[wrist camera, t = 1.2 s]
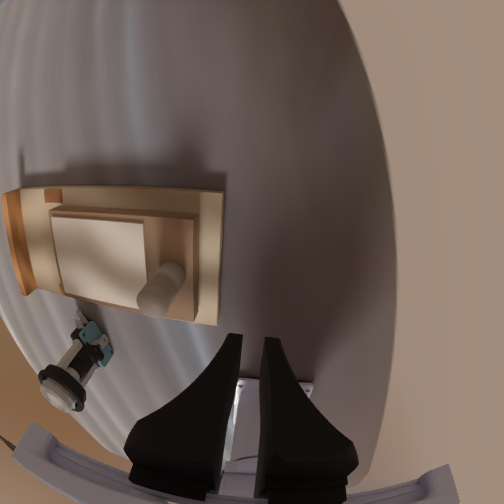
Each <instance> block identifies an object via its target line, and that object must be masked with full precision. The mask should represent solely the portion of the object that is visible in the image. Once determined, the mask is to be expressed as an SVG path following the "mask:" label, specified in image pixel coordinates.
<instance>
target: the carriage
mask: <svg viewBox="0 0 504 504" xmlns="http://www.w3.org/2000/svg"><path fill="white" fill-rule="evenodd" d="M48 213H49V221H50V229H51V235H52V242H53V248H54V253H55V258H56V263H57V268H58V273H59V277H60V281H61V286H62V290H63V293H64V295H66V296H70V297H74V298H78V299H81V300H85V301H89V302H94V303H98V304H102V305H106V306H111V307H115V308H120V309H124V310H129V311H134V312H139V313H144V314H145V315H146V316H148V317H151V318H156V319H157V318H162V317H166V318H171V319H177V320H183V321H190V322H194V321H195V319H196V316H197V313H198V239H199V214H191V213H179V212H166V211H152V210H137V209H121V208H102V207H81V206H57V207H55V208H53V209H50V210H48Z"/></svg>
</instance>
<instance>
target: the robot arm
mask: <svg viewBox="0 0 504 504" xmlns="http://www.w3.org/2000/svg"><path fill="white" fill-rule="evenodd" d="M242 339H243V335H242V334H234V333H229V334H227V337H226V339H225V341H224V343H223V344H222V346H221V348H220V349H219V351H218V352H217V354H216V355H215V357H214V358H213V359H212V361H211V362H210V364H209V365H208V366H207V367H206V368H205V370H204V371H203V372H202V373H201V374H200V375H199V376H198V378H197V379H196V380H195V381H194V382H193V383H192V384H191V385H190V386H188V387H187V388H186V389H185V390H184V391H183V392H182V393H180V394H179V395H178V396H177V397H175V398H174V399H173V400H171V401H170V402H169V403H167V404H166V405H164V406H163V407H161V408H160V409H158V410H157V411H155V412H153V413H151V414H149V415H148V416H146V417H144V418H142V419H140V420H138V421H137V422H136V424H135V425H134V427H133V428H132V430H131V432H130V433H129V435H128V438H127V440H126V443H125V446H124V448H123V449H124V451H125V453H126V455H127V456H128V458H129V459H130V460H131V462H132V463H133V466H132V469H131V472H130V473H127V472H125V471H122V470H119V469H117V468H114V467H111V466H109V465H106V464H104V463H102V462H99V461H97V460H94V459H92V458H90V457H88V456H86V455H84V454H82V453H79V452H77V451H75V450H73V449H71V448H70V447H68V446H66V445H64V444H62V443H60V442H58V440H57V438H56V437H55V436H54V435H53V434H51V433H50V432H49V431H47V430H46V429H44V428H42V427H41V426H39V425H37V424H36V423H34V422H31V423H30V425H29V426H28V428H27V430H26V431H25V433H24V435H23V436H22V438H21V440H20V441H19V443H18V445H17V447H16V448H15V450H14V452H13V454H12V458H13V459H14V460H15V461H16V462H18V463H19V464H20V465H21V466H22V467H24V468H25V469H26V470H27V471H29V472H30V473H31V474H33V475H34V476H35V477H37V478H38V479H39V480H41V481H42V482H44V483H45V484H47V485H49V486H50V487H52V488H53V489H55V490H57V491H58V492H60V493H62V494H63V495H65V496H67V497H69V498H70V499H72V500H74V501H76V502H78V503H80V504H168V502H167V501H170V502H175V503H178V504H459V502H460V500H459V497H458V493H457V490H456V486H455V483H454V479H453V476H452V473H451V470H450V467H449V465H448V464H447V465H444V466H441V467H439V468H436V469H433V470H431V471H428V472H427V473H425V474H423V475H422V476H421V477H420V478H419V479H416V480H412V481H409V482H405V483H402V484H398V485H394V486H390V487H386V488H381V489H377V490H372V491H366V492H361V493H355V494H348V495H346V487H345V486H346V485H347V484H348V480H347V476H348V475H349V474H350V473H351V472H353V471H354V470H355V469H356V467H357V466H358V465H359V461H358V455H357V452H356V449H355V447H354V444H353V442H352V441H351V440H349V439H348V438H347V437H346V436H344V435H343V434H342V433H341V432H339V431H338V430H337V429H336V428H335V427H334V426H333V425H332V424H331V423H330V422H329V421H328V420H327V419H326V418H325V417H324V416H323V415H322V414H321V413H320V411H319V410H318V409H317V408H316V407H315V406H314V404H313V403H312V402H311V400H310V399H309V397H310V395H311V393H312V390H313V384H312V383H305V382H298V381H297V379H296V377H295V375H294V373H293V371H292V369H291V367H290V365H289V363H288V361H287V358H286V356H285V353H284V351H283V348H282V345H281V341H280V339H279V338H272V337H265V342H264V348H263V354H262V360H261V366H260V378H259V379H248V378H238V377H239V369H240V360H241V350H242ZM307 389H308V390H307ZM234 396H235V402H234V414H233V424H235V430H234V437H233V445H232V452H231V460H230V461H226V462H225V469H224V470H221V466H222V459H223V452H224V445H225V438H226V431H227V425H228V420H229V416H230V412H231V408H232V404H233V400H234ZM165 500H166V501H165Z"/></svg>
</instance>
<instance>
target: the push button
mask: <svg viewBox="0 0 504 504" xmlns="http://www.w3.org/2000/svg"><path fill="white" fill-rule="evenodd" d="M76 313H77V315H78V316H79V318H80V321H81V323H80V321H79V319H78V318H77V316H76V315H72V316H71V317H72V318H73V320H74V322H75V323H76V324H75V325H76V326H77V328H76V329H75V330H74V331H73V332H72V334H71V338H72V339H73V345H72V346H71V348H70V349H69V350H68V351H67V353H66V354H65V355H64V357H63V358H62V359H61V360H60V362H59V363H58V364H57V366H54V365H51V364H50V365H48V366H47V367H46V368H45V370H41V371H40V372H39V374H38V378H39V380H40V382H41V384H42V386H41V387H40V389H41V392H42V394H43V395H44V396H45V398H46V399H47V400H48V401H49V402H50V403H51V404H53V405H54V406H55V407H57V408H58V409H60V410H61V411H63V412H66V413H69V412H71V410H73V411H77V412H81V411H82V410H83V409H84V402H85V400H86V391H85V390H84V387H85V386H86V384H87V382H88V381H89V379H90V378H91V376H92V374H93V373H94V371H95V370H98V368H99V367H105V366H106V365H107V363H108V362H109V360H110V359H111V357H112V356H113V354H114V351H113V350H112V348H111V347H110V345H109V344H108V342H109V339H108V338H107V336H106V335H105V334H103V335H102V333H101V332H100V330H99V328H98V327H97V325H96V324H95V322H94V321H89V322H88V321H87V319H86V318H84V316H83V314H82V312H81V311H80V310H78V311H76ZM79 313H80V314H81V316H80V315H79ZM74 318H76V319H77V321H76V320H75V319H74Z"/></svg>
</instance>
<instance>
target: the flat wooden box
mask: <svg viewBox="0 0 504 504" xmlns="http://www.w3.org/2000/svg"><path fill="white" fill-rule="evenodd" d="M1 195H2V204H3V212H4V220H5V226H6V232H7V237H8V243H9V248H10V252H11V257H12V261H13V265H14V269H15V273H16V276H17V280H18V283H19V287H20V290H21V293H22V295H25V296H28V295H29V294H30V293H31V292H33V291H34V290H35V289H36V288H40V289H44V290H47V291H51V292H54V293H58V294H61V295H64V293H63V290H62V286H61V281H60V277H59V273H58V268H57V263H56V258H55V253H54V248H53V242H52V235H51V229H50V221H49V213H48V210H50V209H53V208H55V207H57V206H81V207H102V208H121V209H137V210H152V211H166V212H179V213H191V214H199V239H198V313H197V316H196V319H195V321H194V322H193V323H200V324H207V325H214V326H217V324H218V320H219V299H220V273H221V252H222V233H223V216H224V200H225V191H218V190H205V189H190V188H172V187H150V186H108V185H81V186H41V187H21V188H18V189H15V190H13V191H10V192H7V193H4V194H1ZM65 296H66V295H65ZM69 297H70V296H69ZM72 298H74V297H72ZM76 299H78V298H76ZM80 300H81V299H80ZM84 301H85V300H84ZM88 302H89V301H88ZM92 303H94V302H92ZM96 304H98V303H96ZM100 305H102V304H100ZM105 306H106V305H105ZM109 307H111V306H109ZM113 308H115V307H113ZM118 309H120V308H118ZM123 310H124V309H123ZM127 311H129V310H127ZM132 312H134V311H132ZM137 313H139V312H137ZM142 314H144V313H142ZM163 318H166V317H163ZM169 319H171V318H169ZM175 320H177V319H175ZM181 321H183V320H181ZM187 322H190V321H187Z"/></svg>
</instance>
